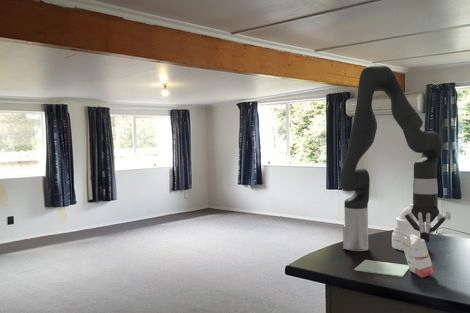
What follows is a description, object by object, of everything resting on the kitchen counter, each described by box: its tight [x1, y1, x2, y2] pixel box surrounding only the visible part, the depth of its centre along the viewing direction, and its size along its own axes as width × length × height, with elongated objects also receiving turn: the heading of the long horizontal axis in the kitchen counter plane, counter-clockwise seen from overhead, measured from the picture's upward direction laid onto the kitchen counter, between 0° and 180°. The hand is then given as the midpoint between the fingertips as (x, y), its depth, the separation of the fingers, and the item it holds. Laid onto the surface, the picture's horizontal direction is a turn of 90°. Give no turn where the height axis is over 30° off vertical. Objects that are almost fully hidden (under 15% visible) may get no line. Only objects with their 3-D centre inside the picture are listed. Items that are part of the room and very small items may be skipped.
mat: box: [354, 259, 410, 278], centre depth 155 cm, size 16×13×1 cm
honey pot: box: [391, 203, 420, 251], centre depth 182 cm, size 13×13×18 cm
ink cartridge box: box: [399, 231, 436, 279], centre depth 147 cm, size 9×5×15 cm, turn 5°
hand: (425, 243), depth 147 cm, fingers closed
